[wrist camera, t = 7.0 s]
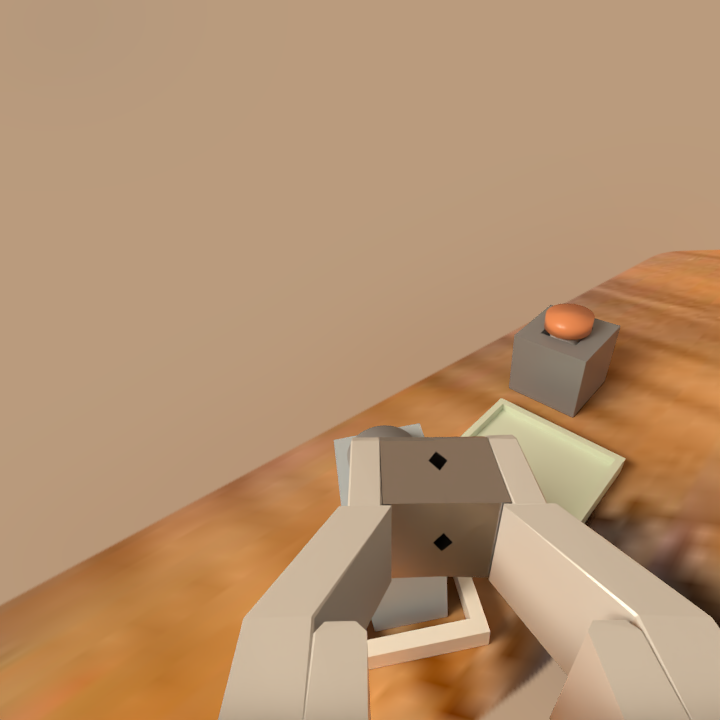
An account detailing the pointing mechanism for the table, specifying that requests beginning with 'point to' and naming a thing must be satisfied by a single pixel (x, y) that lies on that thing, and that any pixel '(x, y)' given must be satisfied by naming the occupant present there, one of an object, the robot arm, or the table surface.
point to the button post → (561, 364)
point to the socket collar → (435, 634)
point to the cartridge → (403, 595)
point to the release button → (569, 322)
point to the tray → (555, 457)
